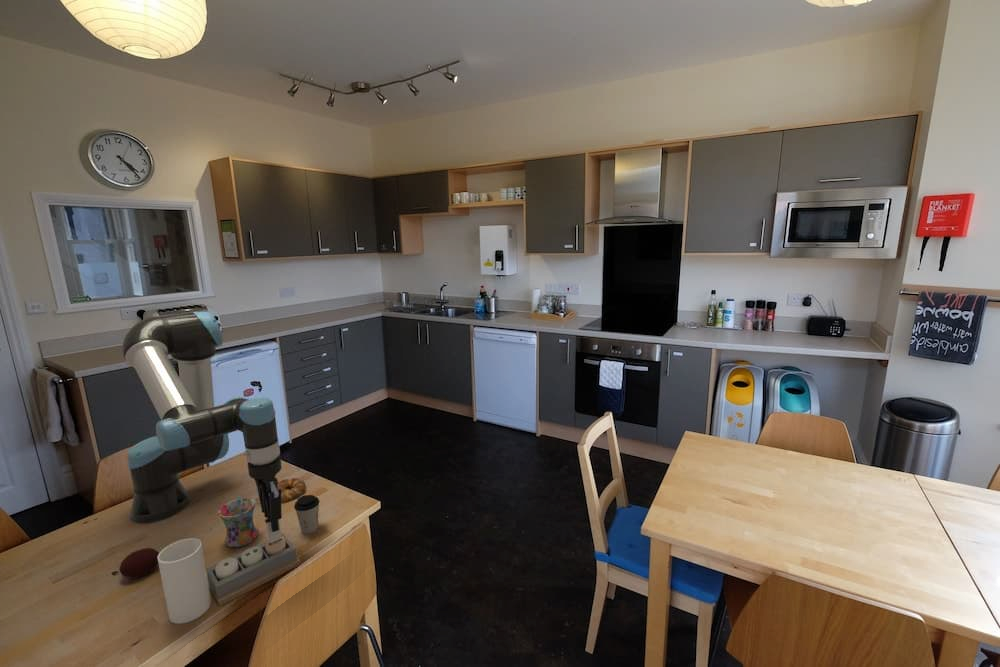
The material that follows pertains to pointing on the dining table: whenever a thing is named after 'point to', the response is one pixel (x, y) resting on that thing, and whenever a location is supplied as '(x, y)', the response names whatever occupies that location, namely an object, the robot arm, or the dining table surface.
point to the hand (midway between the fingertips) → (275, 539)
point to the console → (252, 573)
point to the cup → (184, 580)
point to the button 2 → (251, 556)
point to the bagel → (291, 489)
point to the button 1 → (226, 568)
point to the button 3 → (275, 546)
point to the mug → (239, 521)
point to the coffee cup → (307, 513)
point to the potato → (139, 562)
